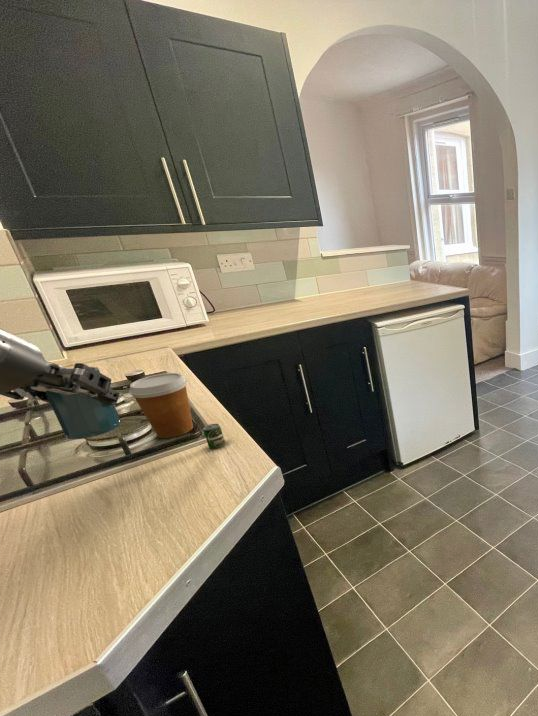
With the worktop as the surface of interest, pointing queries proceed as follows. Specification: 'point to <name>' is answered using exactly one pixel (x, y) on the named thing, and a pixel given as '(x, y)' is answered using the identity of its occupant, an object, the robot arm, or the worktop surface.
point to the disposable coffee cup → (164, 403)
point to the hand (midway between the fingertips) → (91, 400)
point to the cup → (82, 414)
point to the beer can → (214, 436)
